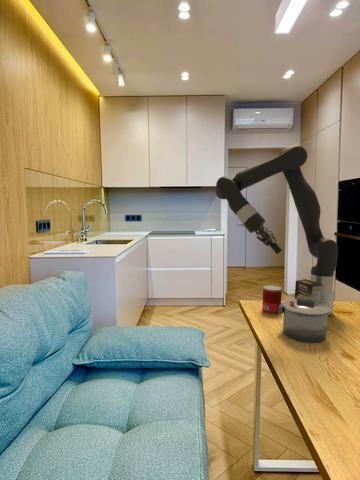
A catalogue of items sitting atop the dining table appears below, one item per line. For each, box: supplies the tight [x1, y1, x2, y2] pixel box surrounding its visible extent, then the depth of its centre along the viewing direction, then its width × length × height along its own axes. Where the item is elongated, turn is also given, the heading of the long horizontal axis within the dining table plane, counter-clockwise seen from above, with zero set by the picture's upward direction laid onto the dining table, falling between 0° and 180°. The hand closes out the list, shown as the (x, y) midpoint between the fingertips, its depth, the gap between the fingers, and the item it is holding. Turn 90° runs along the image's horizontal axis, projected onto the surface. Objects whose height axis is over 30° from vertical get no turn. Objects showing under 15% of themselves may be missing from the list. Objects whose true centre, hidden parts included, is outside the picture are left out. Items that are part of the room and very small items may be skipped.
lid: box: [282, 298, 330, 315], centre depth 120 cm, size 16×16×3 cm
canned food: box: [261, 284, 283, 315], centre depth 146 cm, size 8×8×11 cm
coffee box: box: [294, 278, 322, 302], centre depth 136 cm, size 9×6×16 cm
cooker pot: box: [278, 302, 329, 344], centre depth 121 cm, size 17×15×10 cm
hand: (279, 252), depth 123 cm, fingers closed
